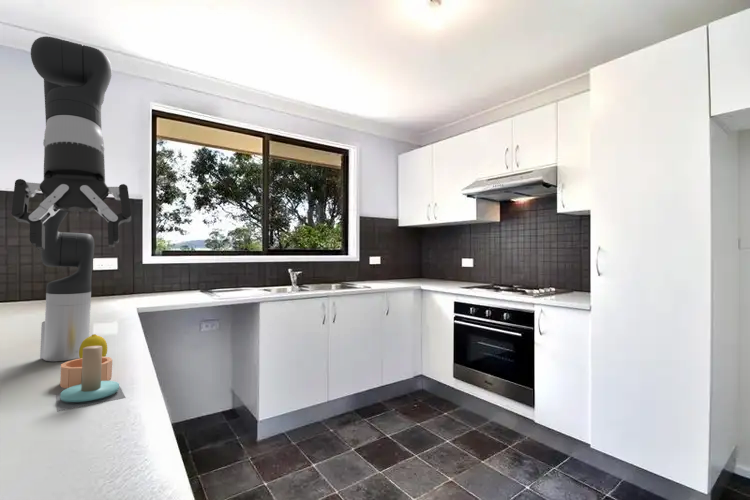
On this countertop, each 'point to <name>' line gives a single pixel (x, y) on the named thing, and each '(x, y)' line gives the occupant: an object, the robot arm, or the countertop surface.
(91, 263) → the robot arm
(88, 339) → the lemon
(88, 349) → the lid
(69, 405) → the mat
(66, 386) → the bowl
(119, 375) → the countertop surface
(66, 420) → the countertop surface
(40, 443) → the countertop surface
